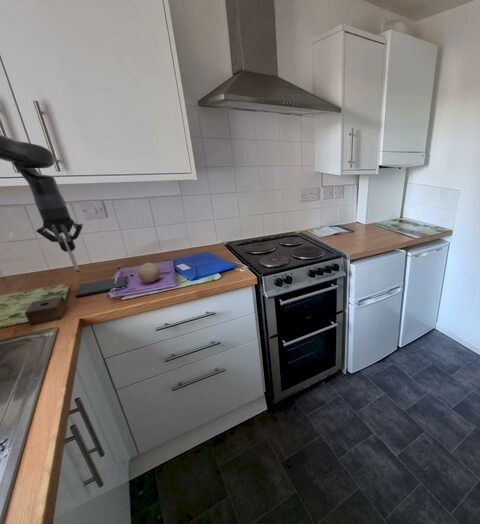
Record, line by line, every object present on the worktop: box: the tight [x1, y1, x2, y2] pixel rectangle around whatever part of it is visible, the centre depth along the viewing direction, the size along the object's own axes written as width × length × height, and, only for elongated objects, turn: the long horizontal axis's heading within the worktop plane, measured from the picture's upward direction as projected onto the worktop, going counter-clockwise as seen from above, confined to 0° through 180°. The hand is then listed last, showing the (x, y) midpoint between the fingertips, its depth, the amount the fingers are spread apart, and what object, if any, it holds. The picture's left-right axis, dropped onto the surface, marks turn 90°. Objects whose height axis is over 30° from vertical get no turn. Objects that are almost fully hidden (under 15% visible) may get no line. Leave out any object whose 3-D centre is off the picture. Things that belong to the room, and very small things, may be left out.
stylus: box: [63, 237, 80, 273], centre depth 115 cm, size 1×1×14 cm
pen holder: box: [24, 295, 69, 326], centre depth 104 cm, size 8×8×5 cm
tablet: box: [75, 275, 129, 299], centre depth 124 cm, size 16×11×1 cm
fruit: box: [137, 262, 161, 284], centre depth 128 cm, size 8×8×8 cm
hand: (69, 250), depth 114 cm, fingers closed on stylus, 1 cm apart
